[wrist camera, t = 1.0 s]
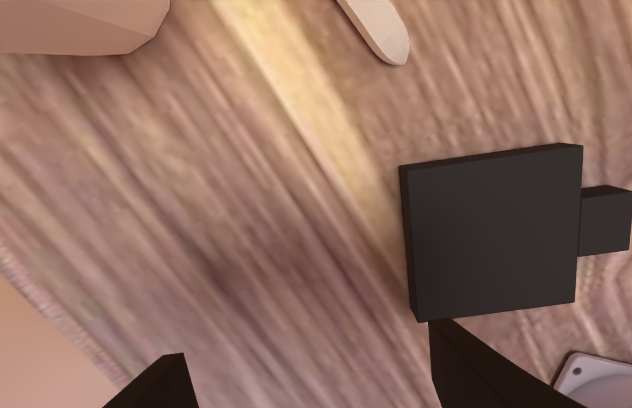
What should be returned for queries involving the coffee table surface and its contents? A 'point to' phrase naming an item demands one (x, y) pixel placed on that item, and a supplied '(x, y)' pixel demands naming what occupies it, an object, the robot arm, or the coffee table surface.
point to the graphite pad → (504, 230)
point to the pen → (379, 28)
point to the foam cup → (79, 26)
